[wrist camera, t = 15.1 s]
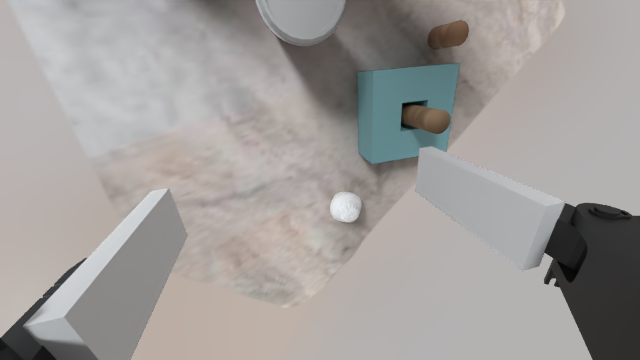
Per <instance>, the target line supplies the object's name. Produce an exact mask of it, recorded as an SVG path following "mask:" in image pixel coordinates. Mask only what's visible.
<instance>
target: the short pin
mask: <svg viewBox="0 0 640 360" xmlns="http://www.w3.org/2000/svg"><path fill="white" fill-rule="evenodd" d="M468 32H469V28H468V24H467V23H466V22H465V21H463V20H460V21H456V22H453V23H449V24H445V25H442V26H438V27H435V28H433V29H432V30H431V32H430V33H429V36H428V44H429V46H430V47H431V48H432V49H439V48H445V47H452V46H458V45H461V44H462V43H464V41H465V40H466V38H467V36H468Z"/></svg>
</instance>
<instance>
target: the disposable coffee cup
mask: <svg viewBox="0 0 640 360" xmlns="http://www.w3.org/2000/svg"><path fill="white" fill-rule="evenodd" d="M255 1H256V4H257V7H258V10H259V13H260V15H261V16H262V18H263V20H264V22H265V24H266V25H267V26H268V27H269V28H270V30H271V31H272V32H273V33H274V34H275V35H276V36H278V37H279V38H280V39H282V40H283V41H285V42H288V43H290V44H292V45H298V46H312V45H315V44H318V43H321V42H322V41H324V40H325V39H327V38H328V37H329V36H330V35H331V34H332V33H333V32H334V31H335V30H336V28H337V26H338V25H339V23H340V22H341V19H342V16H343V14H344V10H345V6H346V0H255Z"/></svg>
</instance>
